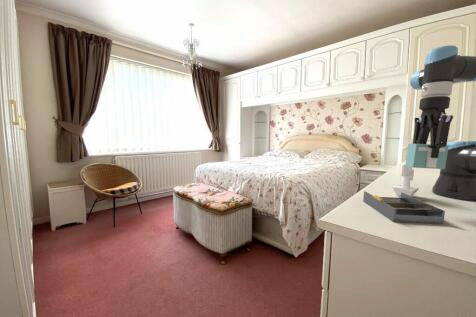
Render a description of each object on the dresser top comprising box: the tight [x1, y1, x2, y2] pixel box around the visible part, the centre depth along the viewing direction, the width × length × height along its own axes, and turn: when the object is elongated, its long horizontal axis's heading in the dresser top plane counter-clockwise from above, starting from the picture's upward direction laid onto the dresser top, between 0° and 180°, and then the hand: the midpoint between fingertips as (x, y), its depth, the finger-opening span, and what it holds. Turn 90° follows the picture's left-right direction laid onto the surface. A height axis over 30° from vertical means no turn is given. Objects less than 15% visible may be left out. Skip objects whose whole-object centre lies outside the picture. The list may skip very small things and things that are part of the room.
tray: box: [362, 190, 446, 225], centre depth 73 cm, size 14×19×5 cm
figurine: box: [391, 160, 420, 197], centre depth 90 cm, size 7×9×15 cm
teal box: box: [405, 143, 449, 170], centre depth 74 cm, size 10×4×8 cm, turn 84°
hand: (425, 166), depth 75 cm, fingers closed on teal box, 4 cm apart
